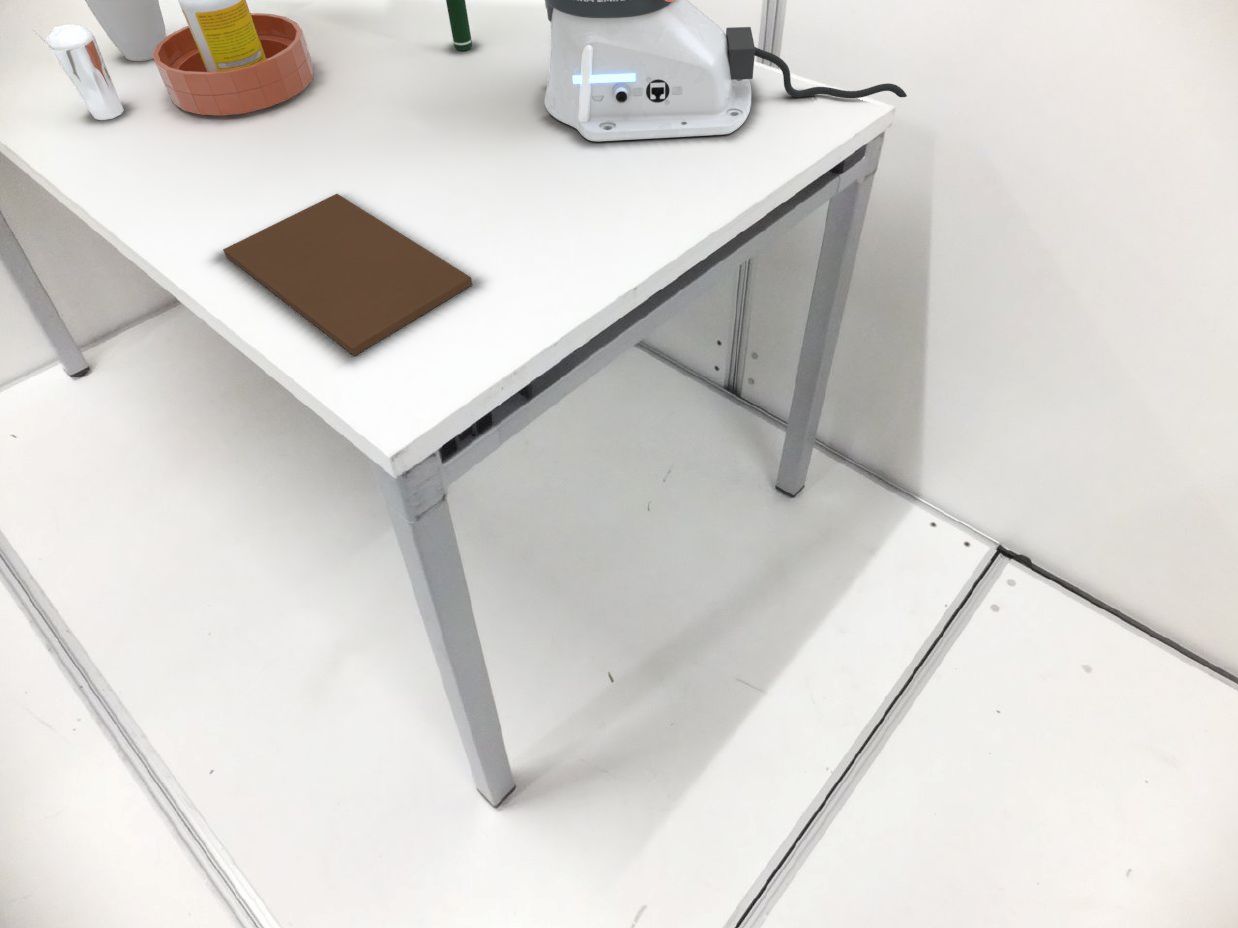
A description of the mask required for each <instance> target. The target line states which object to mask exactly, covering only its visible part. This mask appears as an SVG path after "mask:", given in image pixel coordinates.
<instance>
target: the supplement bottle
mask: <svg viewBox="0 0 1238 928" xmlns="http://www.w3.org/2000/svg"><path fill="white" fill-rule="evenodd" d="M178 4H179V6H180V9H181V11H182V14H183V16H184V18H185V21H186V23H187V26H189V28H190V31H191V33H192V36H193V38H194V41H195V43H196V45H197V48H198V50H199V53H200V55H201V58H202V60H203V63H204V65H205V68H206V70H207V72H212V71H222V70H230V69H235V68H239V67H243V66H248V65H252V64H254V63H257V62H260V61H262V60H265V59H266V56H265V53H264V51H263V48H262V45H261V42H260V39H259V37H258V34H257V31H256V28H255V25H254V22H253V20H252V17H251V14H250V13H251V11H250V9H249V6H248V3H247V0H178Z"/></svg>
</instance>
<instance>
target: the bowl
mask: <svg viewBox="0 0 1238 928" xmlns="http://www.w3.org/2000/svg"><path fill="white" fill-rule="evenodd" d="M250 14H251V17H252V20H253V22H254V25H255V28H256V31H257V34H258V37H259V39H260V42H261V45H262V48H263V51H264V53H265V56H266V59H265V60H262V61H260V62H257V63H254V64H252V65H248V66H243V67H239V68H235V69H230V70H222V71H212V72H207V70H206V68H205V65H204V63H203V60H202V58H201V55H200V53H199V50H198V48H197V45H196V43H195V41H194V38H193V36H192V33H191V31H190V28H189V26H188V25H186V26H183V27H181V28H180V29H178V30H175V31H174V32H172V33H170V34H168V35H166V38H165V39H163V40H162V41H161V42H160V43H159V44H157V46H156V48H155V50H154V52H153V58H154V59H153V61H154V64H155V66H156V68H157V70H158V73H159V75H160V77H161V79H162V82H163V84H164V86H165V89H166V90H167V92H168V95H169V97H170V100H171V101H172V104H174V105H175V106H176V107H178V108H180V109H181V110H183V111H184V112H189V113H192V114H197V115H200V116H201V115H202V116H231V115H241V114H247V113H252V112H256V111H257V112H258V111H260V110H264V109H267V108H271V107H273V106H276V105H278V104H280V103H284V102H285V101H288V100H290V99H291V98H293V97H294V96H296V95H298V94H299V93H301V92H302V91H304V90H305V89H306V88H307V87H308V86H309V84H310V83H311V82H312V81H313V78H314V72H315V68H314V64H313V62H312V58H311V55H310V52H309V48H308V45H307V41H306V38H305V35H304V32H303V30H302V27H301V26H300V25H299V23H298V22H297V21H295V20H293V19H291V18H289V17H287V16H283V15H280V14H279V15H278V14H274V13H266V12H265V13H263V12H261V13H260V12H250Z"/></svg>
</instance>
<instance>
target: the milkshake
mask: <svg viewBox="0 0 1238 928" xmlns="http://www.w3.org/2000/svg"><path fill="white" fill-rule="evenodd" d="M31 31H32V32H33V33H34V34H35V35H36V36H37V37H38V38H39V39H40V40H42V41H43V42H44V43H45V44H46V45H47V47H48V48H49V50H50V52H51V54H52V55H53V56H54V57H55V60H56V61H57V62H58V63H59V65H60V67H61V68H62V70H63V71H64V72H65V74H66V75H67V77H68V79H69V81H70V82H71V84H72V85H73V86H74V88H75V90H76V91H77V93H78V95H79V96H80V98H81V100H82V101H83V103H84V104H85V106H86V108H87V109H88V111H89V112H90V114H91V116H92V117H93V118H94V119H95V120H98V121H108V120H112V119H115V118H117V117H119V116H121V115H123V113H124V111H125V109H124V107H123V104H122V102H121V99H120V97H119V94H118V93H117V90H116V88H115V85H114V83H113V80H112V78H111V75H110V73H109V71H108V69H107V66H106V63H105V60H104V58H103V55H102V52H101V50H100V48H99V45H98V42H97V40H96V37H95V34H94V33H93V31H92V30H91V29H89V28H88V27H86V26H83V25H81V24H69V23H67V24H63V25H60V26H54V27H53V28H52V30H51V31H50V33H49V34H48V35H47V36H46V40H45V39H44V38H43V37H42V36H40V34H39V33H38V32H36V31H35V30H34V29H31Z"/></svg>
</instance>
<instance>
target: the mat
mask: <svg viewBox="0 0 1238 928" xmlns="http://www.w3.org/2000/svg"><path fill="white" fill-rule="evenodd" d="M222 251H223V253H224V256H225V257H226V258H227V259H229V261H231V262H232V263H234V264H235V265H236V266H237V267H239V268H240V269H241V270H242V271H244V272H245V273H246V274H247V275H249V276H250V277H251V278H253V279H254V280H255V281H257V282H258V283H259V284H260V285H262V286H263V287H265V289H267V290H268V291H270V292H271V293H272V294H274V295H275V297H277V298H279V299H280V300H281V301H282V302H284V303H285V304H287V306H288V307H290V308H291V309H293V310H294V311H295V312H297V314H299V315H301V316H302V317H303V318H304V319H305V320H307V321H309V322H310V323H311V324H312V325H314V326H315V327H316V328H317V329H319V330H320V331H321V332H322V333H324V334H325V335H326V336H328V338H330V339H331V340H333V341H334V342H336V344H338V345H339V346H340V347H341V348H343V349H344V350H346V351H347V352H348V353H349V354H351V355H352V356H354V357H356V356H357V355H358V354H360V353H362V352H364V351H366V350H368V349H369V348H370V347H372V346H374V345H376V344H377V343H379V342H380V341H382V340H383V339H385V338H387V337H388V336H391V335H392V334H394V333H395V332H397V331H399V330H400V329H402V328H404V327H405V326H407V325H409V324H411V323H412V322H413V321H415V320H417V319H418V318H420V317H421V316H423V315H425V314H427V313H428V312H430V311H432V310H433V309H435V308H437V307H438V306H440V305H442V304H444V303H445V302H446V301H448V300H450V299H452V298H453V297H455V296H456V295H458V294H460V293H461V292H463V291H465V290H466V289H468V288H470V287H471V286H473V281H472V277H471V276H470V275H468V274H467V273H465V272H464V271H462V270H460V269H459V268H456V267H455V266H453V265H452V264H450V263H449V262H447V261H446V260H444V259H442V258H441V257H439V256H438V255H436V254H434V253H432V252H431V251H430V250H428V249H426V248H424V247H423V246H422V245H420V244H419V243H417V242H415V241H414V240H412V239H410V238H409V237H407V236H406V235H404V234H402V233H401V232H399V231H397V229H394V228H393V227H391V226H390V225H388V224H386V223H385V222H383V221H382V220H380V219H379V218H377V217H375V216H374V215H372V214H371V213H369V212H367V211H366V210H364V209H362V208H361V207H360V206H358V205H356V204H354V203H353V202H351V201H350V200H348V199H347V198H345V197H344V196H342V195H340V194H339V193H335V194H333V195H331V196H329V197H327V198H325V199H323V200H321V201H319V202H317V203H315V204H313V205H310V206H308V207H306V208H305V209H302V210H300V211H299V212H296V213H294V214H292V215H290V216H288V217H286V218H284V219H281V220H280V221H277V222H276V223H273V224H272V225H269V226H268V227H266V228H264V229H261V230H260V231H258V232H255V233H254V234H252V235H251V234H250V235H249V236H248V237H245V238H244V239H243V238H242V239H241V240H239V241H237V242H235V243H233V244H230V245H229V246H227V247H225V248H223V249H222Z"/></svg>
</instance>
